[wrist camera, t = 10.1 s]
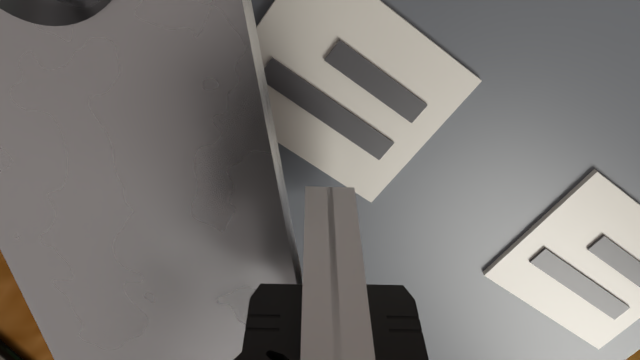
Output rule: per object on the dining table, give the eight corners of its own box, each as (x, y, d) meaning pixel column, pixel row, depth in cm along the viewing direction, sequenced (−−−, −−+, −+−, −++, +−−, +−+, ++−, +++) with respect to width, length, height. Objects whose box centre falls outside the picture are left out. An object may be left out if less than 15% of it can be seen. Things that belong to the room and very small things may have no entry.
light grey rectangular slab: (312, 284, 20) (313, 375, 16) (111, 308, 20) (71, 402, 17) (230, -180, 13) (204, -193, 10) (-65, -134, 14) (-193, -131, 10)
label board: (839, 161, 20) (876, 183, 18) (518, 408, 25) (529, 438, 24) (200, -468, 12) (188, -508, 11) (-55, 87, 18) (-84, 105, 16)
